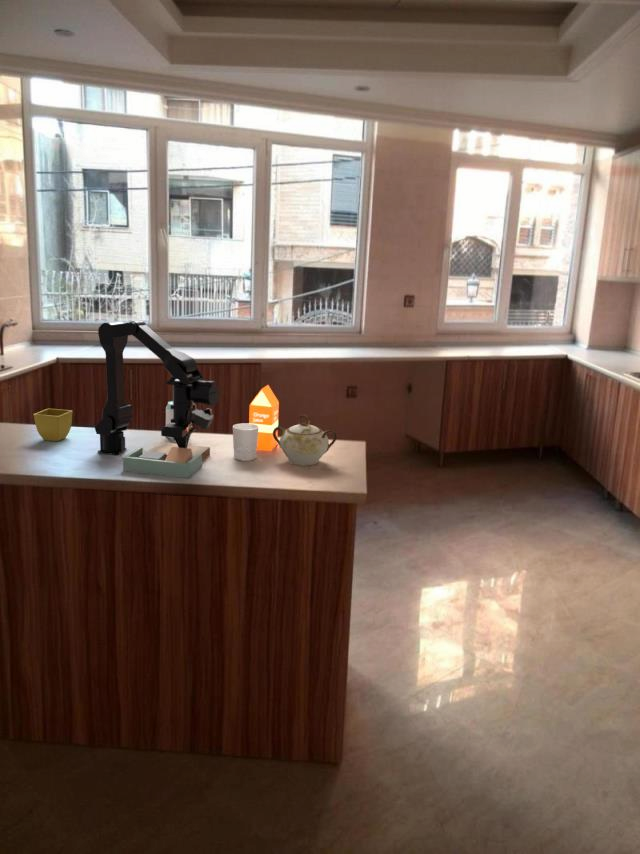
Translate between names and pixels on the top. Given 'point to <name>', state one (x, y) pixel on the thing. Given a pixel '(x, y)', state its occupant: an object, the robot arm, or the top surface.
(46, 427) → the flower pot
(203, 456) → the walnut board
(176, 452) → the terracotta tile
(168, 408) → the can
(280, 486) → the top surface
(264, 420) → the orange juice
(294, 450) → the sugar bowl
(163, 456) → the slate tile
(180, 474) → the box
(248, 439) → the white cup
